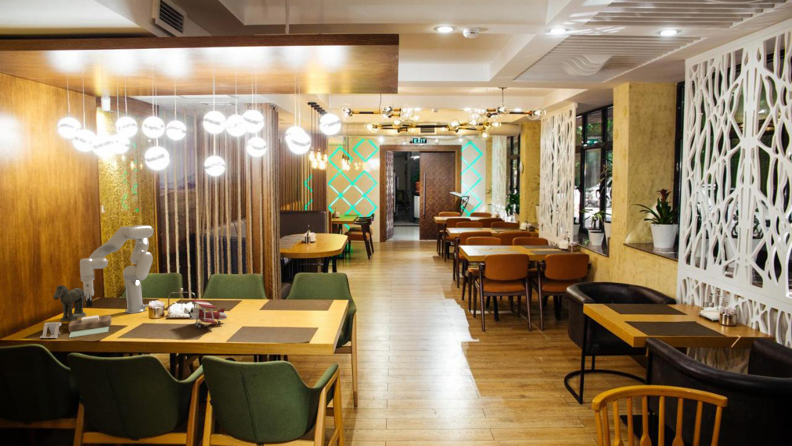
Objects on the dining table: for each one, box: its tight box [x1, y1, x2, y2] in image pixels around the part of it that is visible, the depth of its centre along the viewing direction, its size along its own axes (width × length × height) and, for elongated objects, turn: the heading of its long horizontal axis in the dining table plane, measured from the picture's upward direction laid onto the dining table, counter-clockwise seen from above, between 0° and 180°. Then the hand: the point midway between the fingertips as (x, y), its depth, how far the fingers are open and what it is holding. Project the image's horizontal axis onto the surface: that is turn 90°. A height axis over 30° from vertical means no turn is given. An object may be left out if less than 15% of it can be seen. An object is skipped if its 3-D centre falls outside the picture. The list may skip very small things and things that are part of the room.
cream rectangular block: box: [80, 315, 100, 323], centre depth 326 cm, size 9×6×2 cm, turn 117°
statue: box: [52, 284, 87, 322], centre depth 343 cm, size 25×10×25 cm, turn 169°
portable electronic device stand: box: [39, 321, 62, 339], centre depth 307 cm, size 9×8×8 cm
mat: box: [68, 327, 110, 339], centre depth 314 cm, size 20×12×1 cm, turn 117°
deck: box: [68, 315, 112, 333], centre depth 326 cm, size 22×14×4 cm, turn 117°
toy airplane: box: [183, 299, 228, 329], centre depth 320 cm, size 27×23×15 cm
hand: (89, 306), depth 334 cm, fingers closed
